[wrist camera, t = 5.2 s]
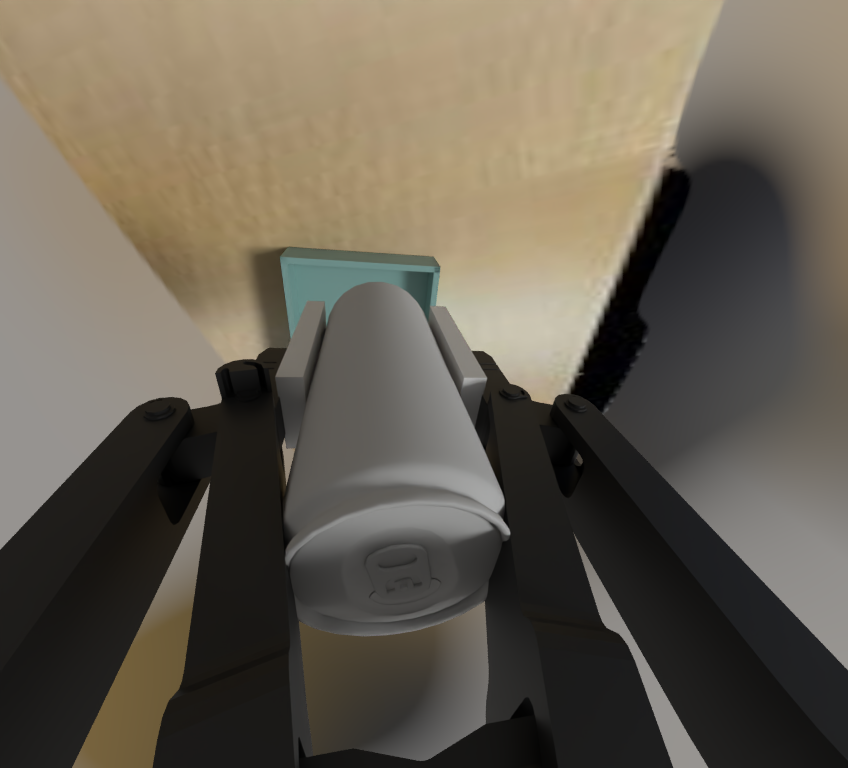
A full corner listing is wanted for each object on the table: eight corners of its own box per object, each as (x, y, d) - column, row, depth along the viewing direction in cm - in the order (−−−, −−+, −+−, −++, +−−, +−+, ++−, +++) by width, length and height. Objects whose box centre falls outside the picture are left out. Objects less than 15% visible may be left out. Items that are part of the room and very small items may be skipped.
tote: (288, 246, 30) (279, 256, 27) (433, 256, 32) (440, 266, 29) (307, 409, 39) (302, 428, 37) (417, 408, 42) (421, 426, 39)
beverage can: (339, 378, 18) (310, 657, 8) (313, 286, 15) (213, 532, 5) (431, 362, 18) (518, 610, 8) (421, 270, 15) (533, 469, 5)
